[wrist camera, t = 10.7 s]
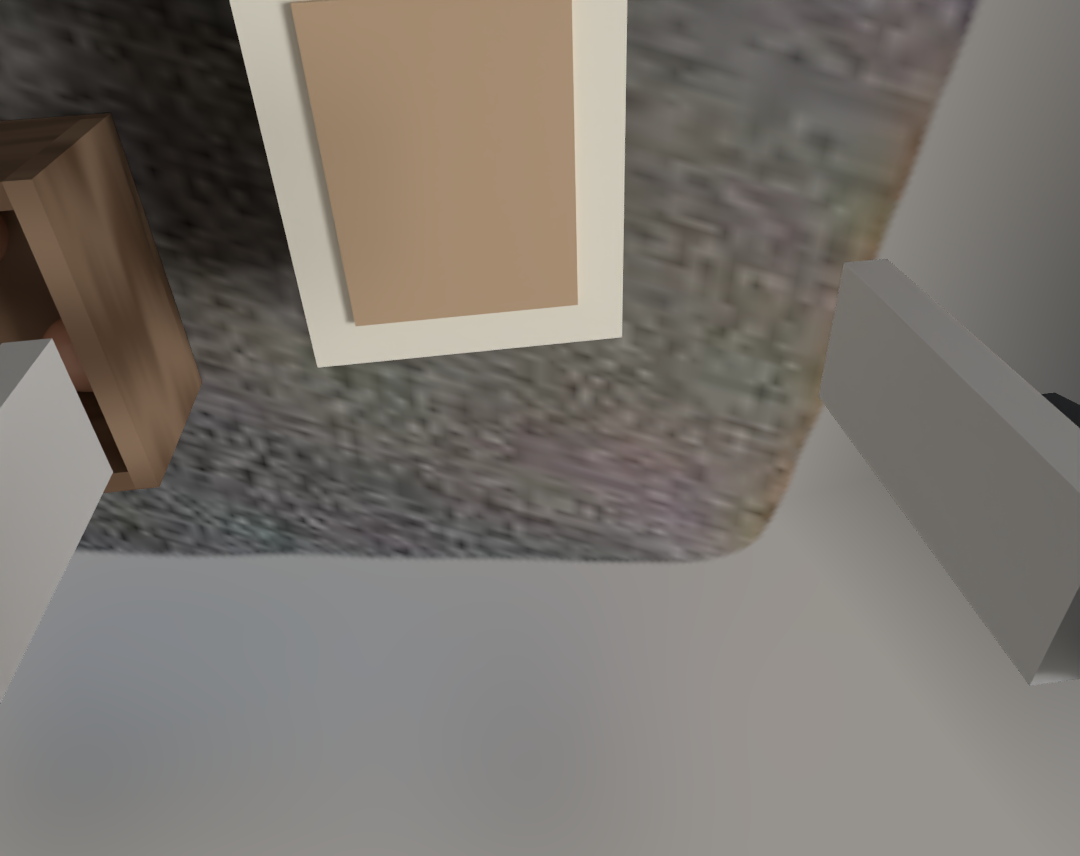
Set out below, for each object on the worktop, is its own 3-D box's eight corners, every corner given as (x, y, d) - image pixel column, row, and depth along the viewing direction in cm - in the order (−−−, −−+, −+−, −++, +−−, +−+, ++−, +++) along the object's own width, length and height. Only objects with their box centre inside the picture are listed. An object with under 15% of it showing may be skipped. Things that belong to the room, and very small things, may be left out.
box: (-165, 133, 27) (-319, 207, 22) (110, 112, 28) (31, 179, 22) (-19, 403, 34) (-108, 515, 28) (202, 381, 34) (159, 487, 29)
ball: (44, 302, 31) (12, 341, 28) (125, 295, 31) (100, 333, 29) (74, 369, 33) (46, 411, 30) (150, 362, 33) (129, 403, 30)
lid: (232, -73, 21) (211, -64, 19) (610, -96, 22) (631, -90, 20) (324, 331, 28) (316, 372, 26) (608, 304, 29) (623, 341, 27)
